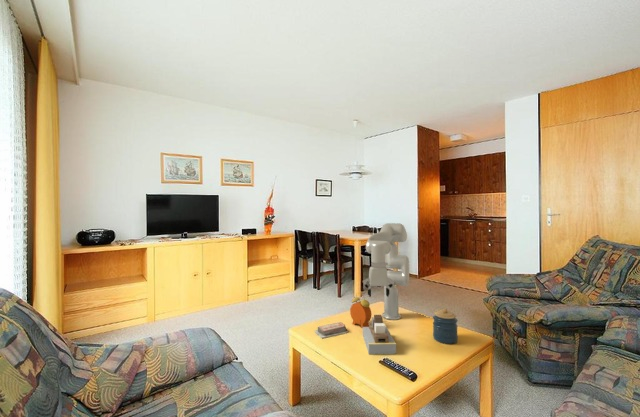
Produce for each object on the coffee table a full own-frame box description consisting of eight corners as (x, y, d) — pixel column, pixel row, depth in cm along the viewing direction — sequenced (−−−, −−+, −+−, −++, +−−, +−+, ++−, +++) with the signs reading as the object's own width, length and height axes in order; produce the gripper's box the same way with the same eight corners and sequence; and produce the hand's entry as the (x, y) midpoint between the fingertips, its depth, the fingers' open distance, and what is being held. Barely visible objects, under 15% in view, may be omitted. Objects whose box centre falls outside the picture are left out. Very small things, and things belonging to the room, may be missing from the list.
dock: (362, 335, 173) (362, 326, 173) (386, 335, 173) (386, 326, 173) (368, 354, 151) (368, 344, 151) (396, 354, 151) (396, 343, 151)
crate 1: (371, 324, 168) (371, 317, 168) (380, 324, 168) (380, 317, 168) (373, 327, 164) (373, 320, 164) (382, 327, 164) (382, 320, 164)
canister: (434, 332, 175) (434, 303, 175) (458, 337, 169) (458, 306, 169) (431, 341, 164) (430, 310, 164) (456, 346, 158) (456, 314, 158)
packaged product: (340, 319, 185) (348, 325, 176) (340, 327, 185) (348, 333, 176) (314, 325, 178) (321, 331, 169) (314, 332, 178) (321, 339, 169)
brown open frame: (369, 327, 171) (368, 310, 171) (381, 327, 171) (380, 309, 171) (375, 342, 152) (375, 322, 152) (388, 342, 152) (388, 322, 152)
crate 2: (374, 330, 160) (374, 323, 160) (383, 330, 160) (383, 322, 160) (375, 333, 156) (375, 325, 156) (385, 333, 156) (385, 325, 156)
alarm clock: (372, 327, 184) (371, 295, 184) (365, 329, 181) (365, 297, 180) (356, 320, 195) (356, 290, 195) (350, 323, 191) (349, 292, 191)
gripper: (392, 263, 166) (392, 293, 166) (361, 263, 166) (361, 294, 166) (395, 266, 158) (395, 297, 158) (363, 266, 158) (363, 298, 158)
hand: (378, 295), depth 162 cm, fingers open, 9 cm apart
